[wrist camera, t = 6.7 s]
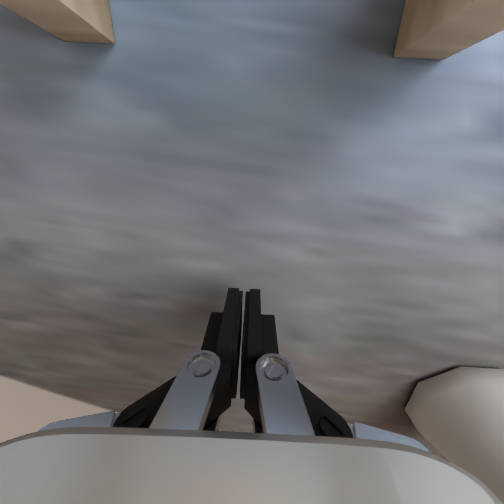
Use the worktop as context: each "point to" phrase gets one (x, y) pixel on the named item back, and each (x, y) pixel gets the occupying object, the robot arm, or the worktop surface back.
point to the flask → (464, 420)
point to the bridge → (407, 46)
